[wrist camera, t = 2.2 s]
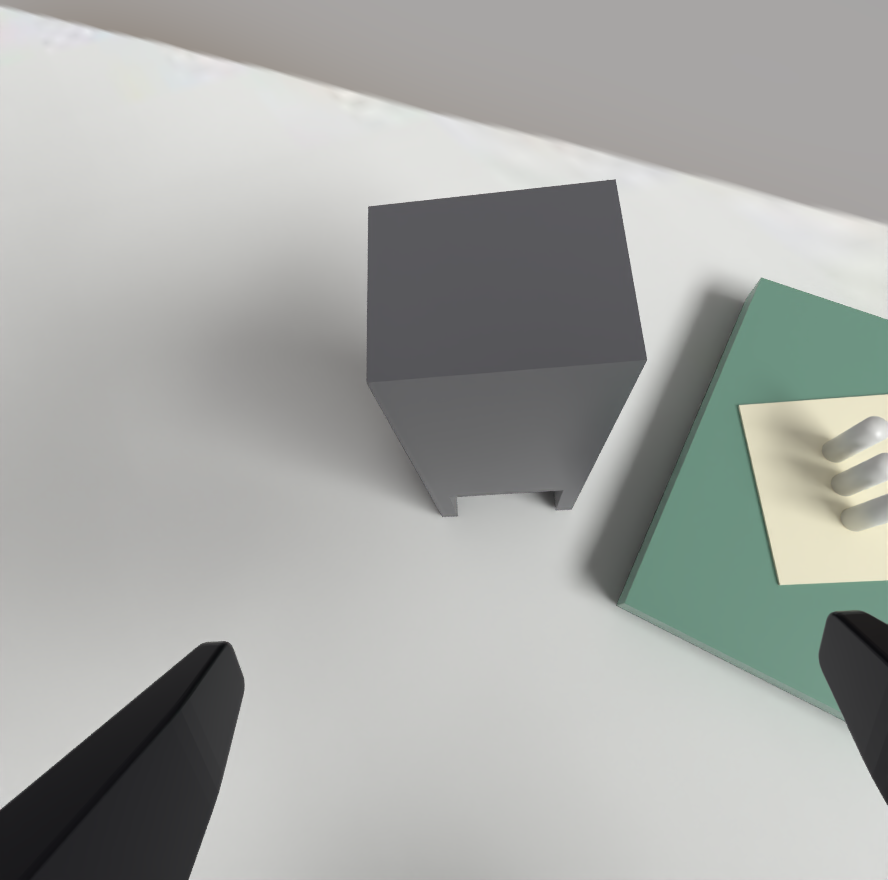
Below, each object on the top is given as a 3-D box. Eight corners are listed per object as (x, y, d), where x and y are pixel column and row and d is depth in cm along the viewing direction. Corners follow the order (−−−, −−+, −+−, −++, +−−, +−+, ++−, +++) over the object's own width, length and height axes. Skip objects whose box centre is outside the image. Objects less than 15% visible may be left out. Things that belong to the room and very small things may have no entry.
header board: (916, 757, 18) (1025, 790, 14) (616, 605, 20) (640, 598, 16) (1013, 391, 21) (1122, 338, 17) (746, 298, 24) (791, 235, 20)
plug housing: (571, 509, 22) (647, 359, 10) (442, 516, 22) (366, 382, 10) (560, 412, 23) (615, 179, 11) (438, 421, 23) (368, 206, 12)
